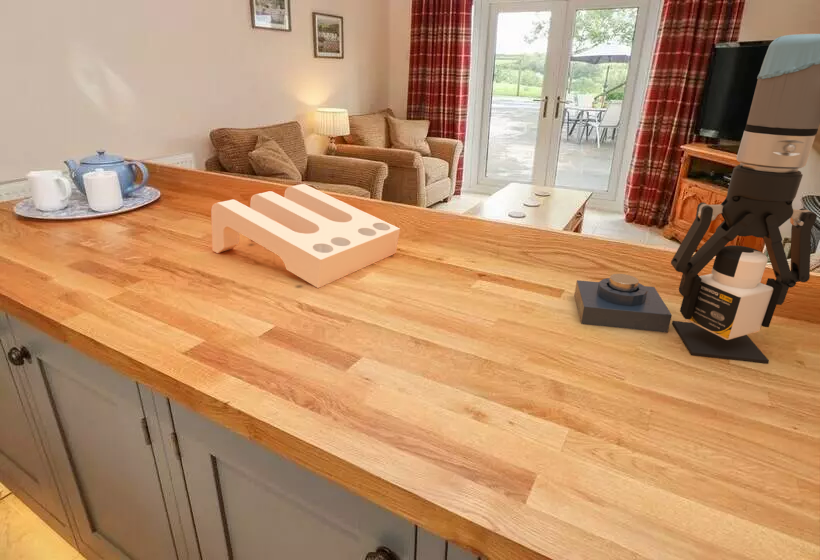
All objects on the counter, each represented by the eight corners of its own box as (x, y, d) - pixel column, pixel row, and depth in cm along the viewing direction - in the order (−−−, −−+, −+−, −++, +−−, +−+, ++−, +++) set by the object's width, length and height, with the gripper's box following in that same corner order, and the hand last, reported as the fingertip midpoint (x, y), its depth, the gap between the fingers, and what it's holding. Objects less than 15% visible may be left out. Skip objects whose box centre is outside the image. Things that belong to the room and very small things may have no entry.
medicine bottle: (683, 319, 75) (702, 244, 70) (715, 311, 77) (736, 239, 73) (727, 341, 69) (751, 261, 64) (760, 332, 71) (786, 254, 67)
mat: (739, 330, 78) (740, 327, 78) (768, 364, 69) (769, 360, 69) (671, 323, 80) (672, 320, 79) (691, 355, 71) (692, 352, 70)
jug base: (650, 303, 87) (656, 277, 85) (667, 333, 77) (674, 304, 75) (574, 296, 89) (578, 270, 87) (581, 324, 79) (585, 296, 77)
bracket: (320, 259, 88) (210, 199, 102) (315, 314, 94) (212, 250, 108) (400, 228, 106) (297, 180, 120) (391, 276, 112) (294, 225, 126)
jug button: (633, 284, 83) (635, 274, 82) (639, 295, 79) (641, 285, 78) (606, 282, 83) (608, 272, 83) (610, 292, 79) (612, 282, 79)
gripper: (685, 167, 62) (648, 322, 71) (886, 177, 59) (821, 340, 67) (668, 158, 69) (637, 300, 78) (848, 166, 65) (794, 315, 74)
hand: (722, 318), depth 73 cm, fingers closed on medicine bottle, 10 cm apart
